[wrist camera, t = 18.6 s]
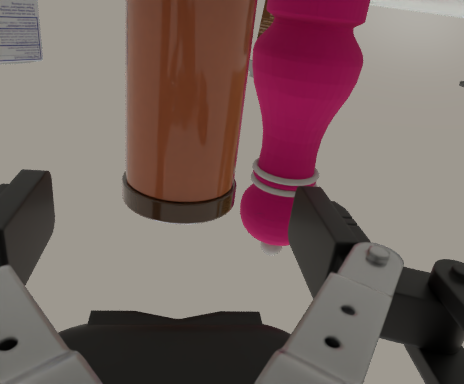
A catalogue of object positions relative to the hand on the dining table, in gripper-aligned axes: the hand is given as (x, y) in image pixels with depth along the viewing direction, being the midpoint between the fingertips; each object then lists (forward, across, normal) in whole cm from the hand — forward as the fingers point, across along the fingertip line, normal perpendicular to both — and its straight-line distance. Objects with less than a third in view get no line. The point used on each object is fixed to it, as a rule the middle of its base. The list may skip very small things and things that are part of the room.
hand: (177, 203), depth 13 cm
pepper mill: (+15, -8, -8) cm, 19 cm away
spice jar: (+6, 0, -7) cm, 9 cm away
